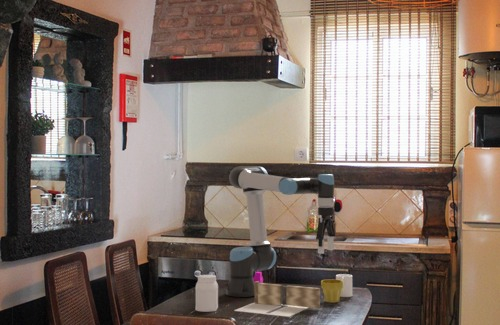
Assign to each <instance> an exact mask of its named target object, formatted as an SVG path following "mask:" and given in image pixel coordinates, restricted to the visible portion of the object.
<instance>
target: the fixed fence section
mask: <svg viewBox="0 0 500 325" xmlns="http://www.w3.org/2000/svg"><path fill="white" fill-rule="evenodd" d="M282 286H283V284H276V283H275V284H274V283H264V282H263V283H259V281H255V296H254V302H255V303H259V304H269V305H278V306H281V304H282Z"/></svg>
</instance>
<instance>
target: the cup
mask: <svg viewBox="0 0 500 325" xmlns="http://www.w3.org/2000/svg"><path fill="white" fill-rule="evenodd" d="M335 280H341V281H343V288H342V289H341V294H340V298H350V297H353V275H352V274H347V273H343V274H342V273H340V274H336V275H335Z"/></svg>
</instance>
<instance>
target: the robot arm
mask: <svg viewBox="0 0 500 325" xmlns="http://www.w3.org/2000/svg"><path fill="white" fill-rule="evenodd" d="M228 177H229V183H230V184H231V186H233V187H234V189H235V188H236V189H240V190H242V192H243V194H244V196H246V204H247V214H248V215H247V217H248V225H249V226H248V227H249V235H250V236H249V238H250V242H249V243H248V245H247V246H238V247H234V248H232V249H231V250H230V252H229V281H228V284H227V288H226V294H225V295H226V296H229V297H232V298H233V297H237V298H248V297H255V284H254V281H253V277H254V273H256V272H262V271H267V270H270V269H272V268H273V267H274V266H275V264H276V262H277V253H276V251H275V249H274V248H273V247H272V246H271V242H270V241H268V235H267V234H268V232H267V223H266V222H267V221H266V213H265V212H266V211H265V203H264V193H265V192H266V191H269V192H270V191H271V192H275V193H276V192H277V193H281V194H283V195H287V196H292V195H303V194H304V195H305V194H307V195H308V194H309V195H310V194H311V195H312V194H314V195H315V194H316V195H317V215H318V216H321V217H318V225H317V231H316V237H315V239H316V240H317V254H322V255H324V254H325V239H324V238H325V233H326V232H327V251H334V237H336V230H335V225H334V216H335V208H334V206H335V195H334V194H335V177H334V174H332V173H330V174H329V173H328V174H327V173H322V174H321V173H319V174H318V175H317V177H315V178H314V177H298V178H297V177H296V178H294V177H293V178H291V177H285V176H278V175H272V174H268V172H267V170H266V169H265V168H264V167H263V166H257V165H246V166H245V165H240V166H236V167H234V168H233V169H232V170H230V173H229V176H228Z"/></svg>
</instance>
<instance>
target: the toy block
mask: <svg viewBox="0 0 500 325" xmlns="http://www.w3.org/2000/svg"><path fill="white" fill-rule="evenodd" d="M253 281H254V284H255V281H259V283H264V277H263V272H262V271H255V272H254V275H253Z"/></svg>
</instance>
